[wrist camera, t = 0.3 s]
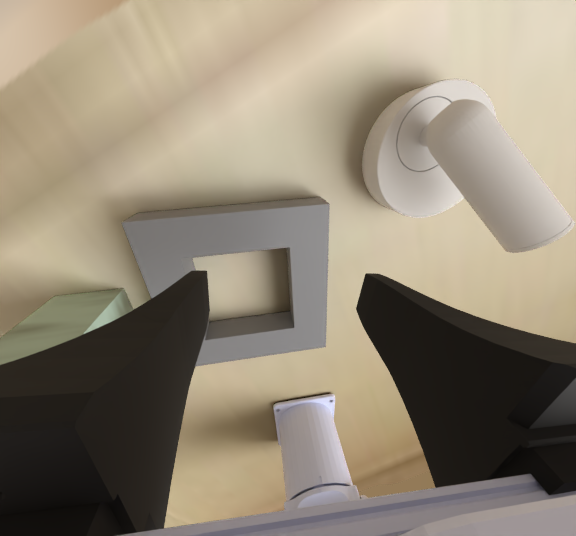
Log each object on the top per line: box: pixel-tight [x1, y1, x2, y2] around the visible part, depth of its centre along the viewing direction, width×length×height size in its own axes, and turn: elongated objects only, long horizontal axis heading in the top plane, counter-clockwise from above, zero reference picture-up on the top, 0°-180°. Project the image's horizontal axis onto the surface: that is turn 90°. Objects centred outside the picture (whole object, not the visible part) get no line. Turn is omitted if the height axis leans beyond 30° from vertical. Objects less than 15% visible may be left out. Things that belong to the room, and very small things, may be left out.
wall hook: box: [362, 79, 575, 253], centre depth 15 cm, size 9×10×10 cm
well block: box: [121, 197, 329, 366], centre depth 20 cm, size 14×14×2 cm
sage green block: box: [0, 288, 133, 365], centre depth 18 cm, size 6×6×8 cm
